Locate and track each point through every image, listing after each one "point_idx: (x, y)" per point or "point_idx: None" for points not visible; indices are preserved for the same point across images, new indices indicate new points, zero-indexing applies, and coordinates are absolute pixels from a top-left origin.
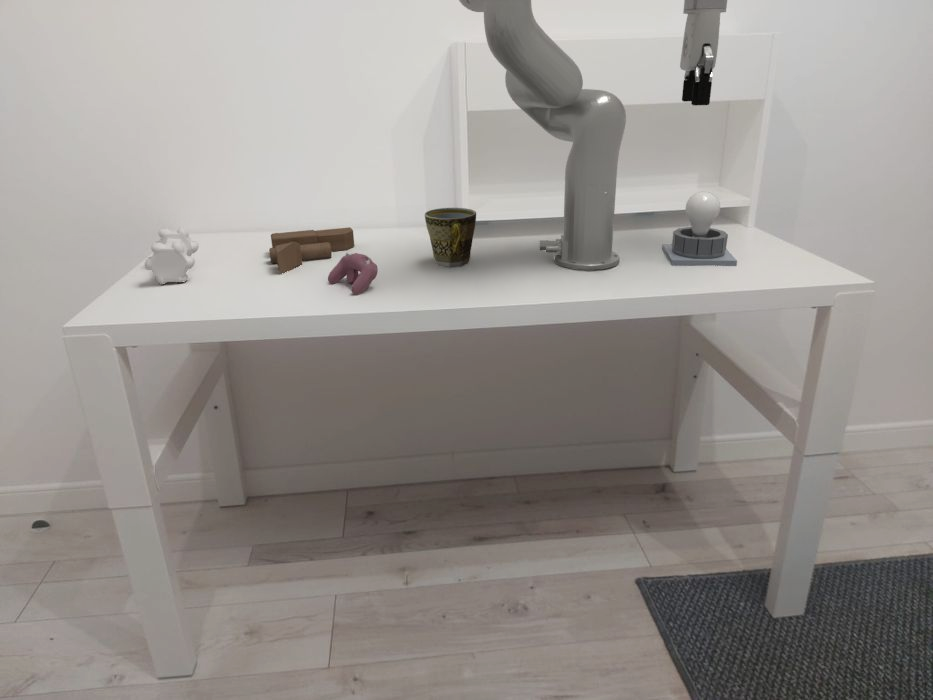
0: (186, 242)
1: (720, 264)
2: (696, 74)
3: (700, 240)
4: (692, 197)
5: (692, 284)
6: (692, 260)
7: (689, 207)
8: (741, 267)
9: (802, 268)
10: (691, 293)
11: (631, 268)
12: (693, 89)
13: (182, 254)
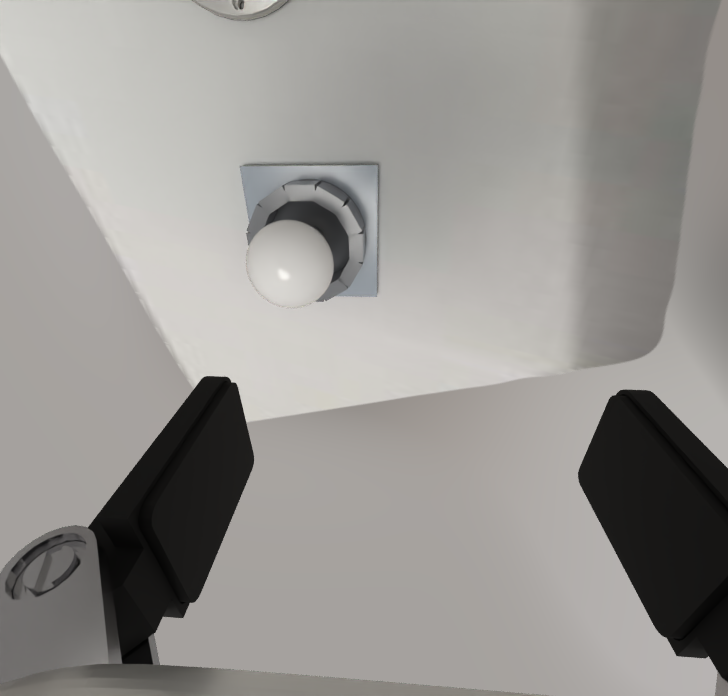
0: None
1: None
2: (7, 627)
3: (248, 236)
4: (273, 242)
5: (128, 186)
6: (247, 211)
7: (264, 227)
8: (257, 297)
9: (269, 379)
10: (73, 173)
11: (199, 55)
12: (143, 457)
13: None
